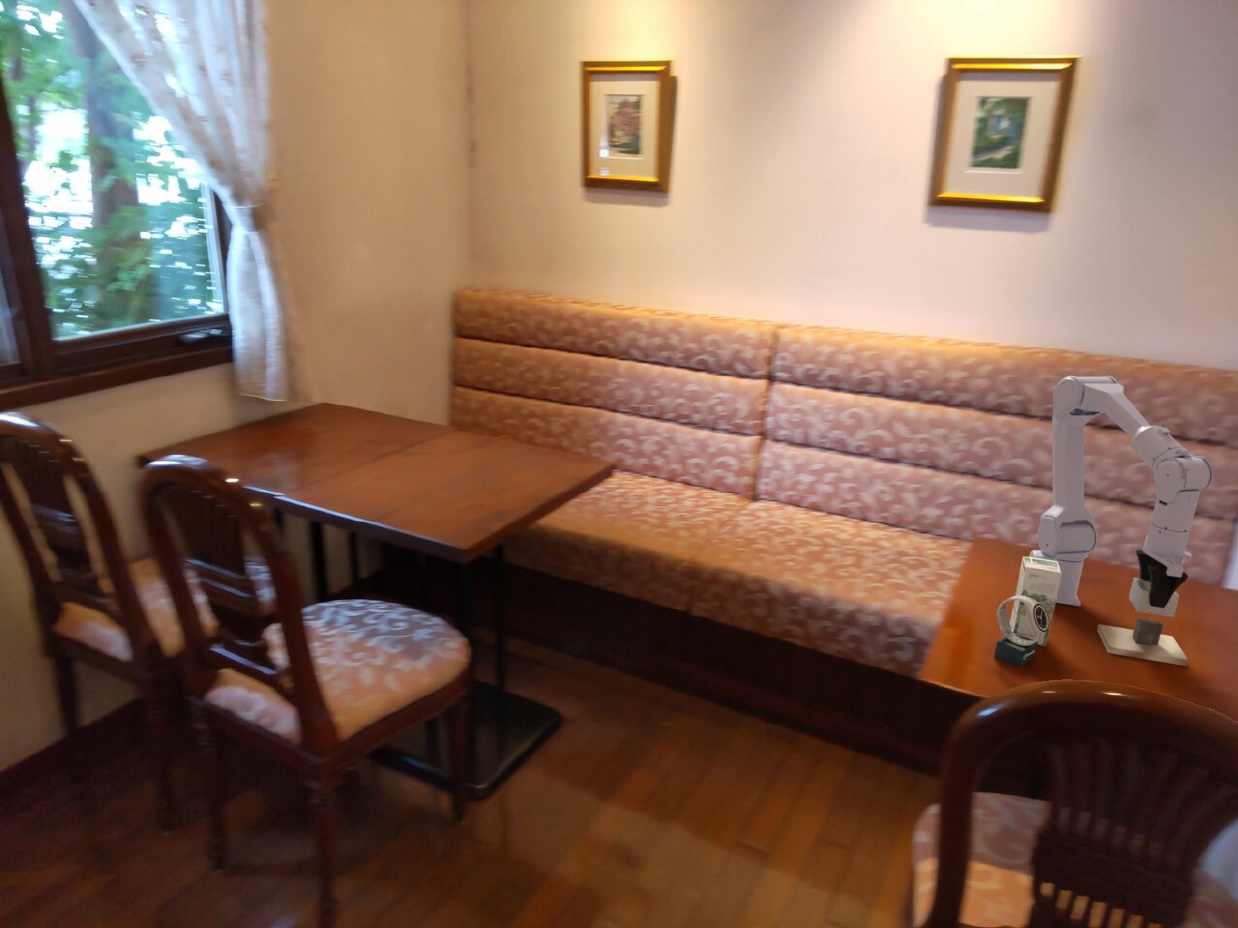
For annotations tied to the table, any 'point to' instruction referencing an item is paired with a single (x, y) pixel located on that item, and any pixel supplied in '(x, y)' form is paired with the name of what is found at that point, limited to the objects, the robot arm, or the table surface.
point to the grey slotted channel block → (1142, 599)
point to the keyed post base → (1142, 642)
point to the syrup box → (1035, 593)
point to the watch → (1017, 646)
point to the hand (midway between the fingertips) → (1152, 599)
